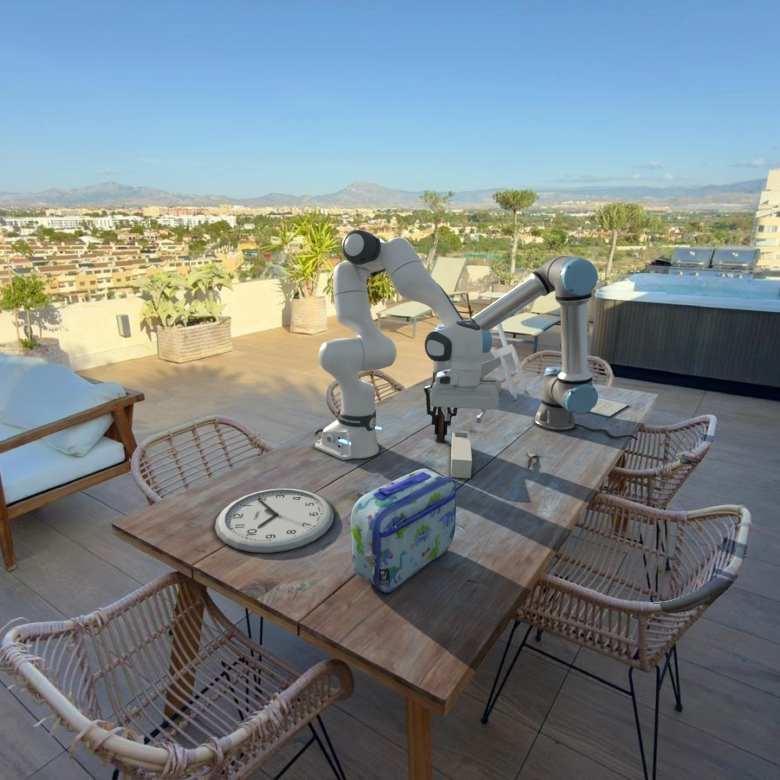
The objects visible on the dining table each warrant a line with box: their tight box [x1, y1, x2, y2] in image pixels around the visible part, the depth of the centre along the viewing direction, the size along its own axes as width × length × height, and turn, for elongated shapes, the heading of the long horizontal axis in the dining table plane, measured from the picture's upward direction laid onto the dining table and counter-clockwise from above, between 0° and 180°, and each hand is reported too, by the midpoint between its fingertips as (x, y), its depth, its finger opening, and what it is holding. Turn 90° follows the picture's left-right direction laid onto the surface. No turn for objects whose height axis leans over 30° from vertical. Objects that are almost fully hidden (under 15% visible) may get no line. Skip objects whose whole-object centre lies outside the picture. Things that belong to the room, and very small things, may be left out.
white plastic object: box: [480, 322, 531, 400], centre depth 245 cm, size 37×45×31 cm
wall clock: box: [214, 488, 335, 554], centre depth 135 cm, size 30×2×30 cm
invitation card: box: [588, 397, 629, 418], centre depth 226 cm, size 21×1×15 cm
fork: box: [527, 445, 537, 469], centre depth 172 cm, size 3×16×2 cm, turn 160°
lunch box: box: [350, 468, 457, 593], centre depth 114 cm, size 26×11×21 cm, turn 134°
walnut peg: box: [435, 407, 447, 444], centre depth 185 cm, size 3×3×14 cm
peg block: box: [450, 429, 473, 479], centre depth 170 cm, size 6×24×6 cm, turn 173°
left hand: (462, 421), depth 157 cm, fingers open, 8 cm apart
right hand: (440, 433), depth 186 cm, fingers closed on walnut peg, 3 cm apart
